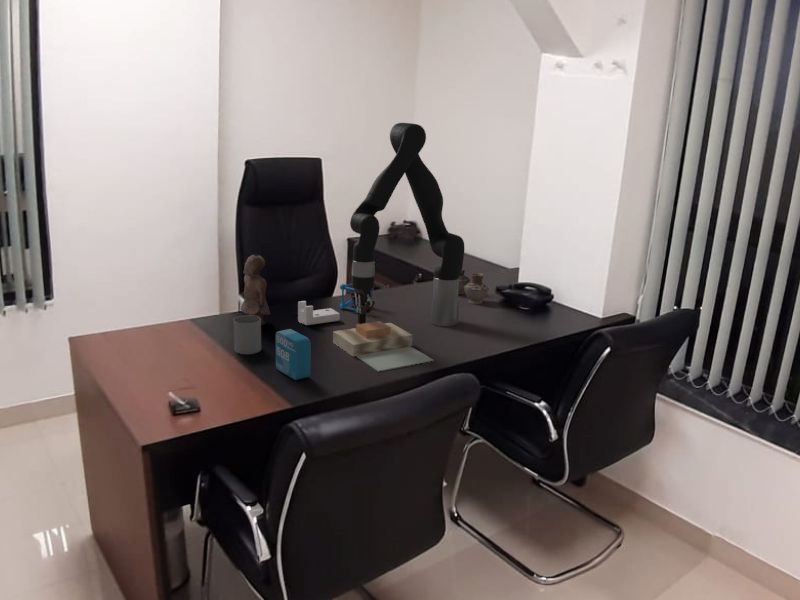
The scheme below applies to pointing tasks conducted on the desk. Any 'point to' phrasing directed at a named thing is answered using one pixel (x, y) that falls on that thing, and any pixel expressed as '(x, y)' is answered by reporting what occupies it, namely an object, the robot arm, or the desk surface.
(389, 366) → the mat
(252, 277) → the clay figurine
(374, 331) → the tile
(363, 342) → the light wood flat block
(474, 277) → the pottery
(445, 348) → the desk surface
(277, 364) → the data package
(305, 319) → the bracket
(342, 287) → the molecular structure
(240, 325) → the cup
